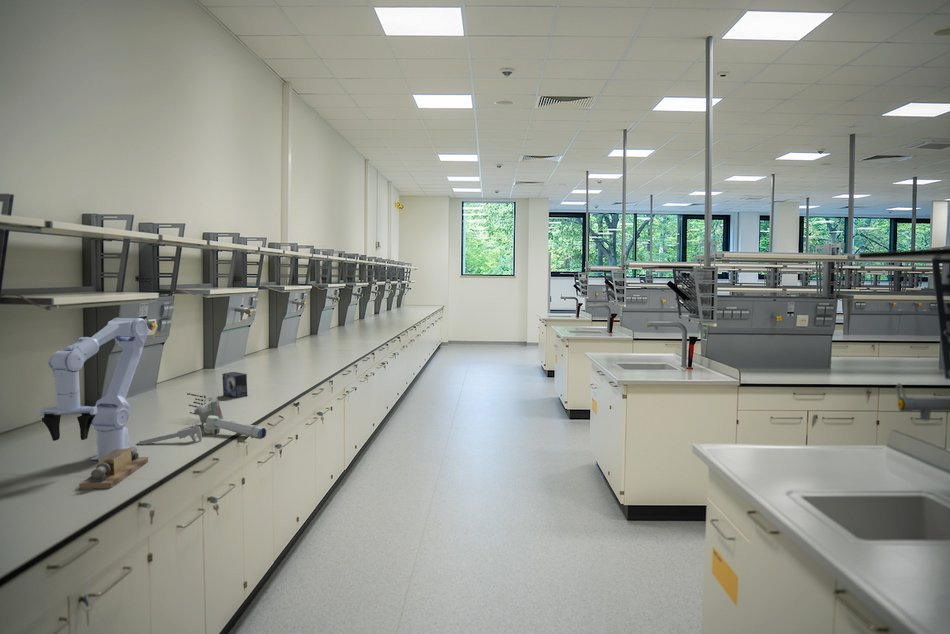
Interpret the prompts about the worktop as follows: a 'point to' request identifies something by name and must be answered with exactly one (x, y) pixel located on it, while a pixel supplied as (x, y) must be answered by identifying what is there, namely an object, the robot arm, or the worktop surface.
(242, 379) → the small box
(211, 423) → the blue-tipped grey rod
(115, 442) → the robot arm
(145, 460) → the shaft cradle
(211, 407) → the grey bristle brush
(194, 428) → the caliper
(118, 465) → the coupling block
